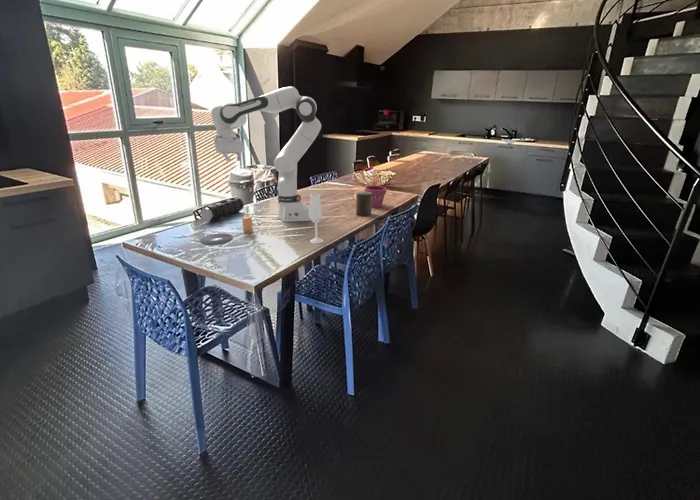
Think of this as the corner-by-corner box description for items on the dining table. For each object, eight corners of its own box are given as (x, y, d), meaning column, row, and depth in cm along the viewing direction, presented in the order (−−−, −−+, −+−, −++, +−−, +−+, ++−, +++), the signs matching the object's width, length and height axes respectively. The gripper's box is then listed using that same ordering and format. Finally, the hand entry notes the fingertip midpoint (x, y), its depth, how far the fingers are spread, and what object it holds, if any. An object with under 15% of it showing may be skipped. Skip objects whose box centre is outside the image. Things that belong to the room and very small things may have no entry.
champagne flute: (307, 242, 191) (305, 195, 182) (313, 238, 197) (311, 192, 188) (319, 244, 189) (318, 196, 180) (325, 239, 195) (324, 193, 186)
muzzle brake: (244, 213, 242) (243, 197, 238) (213, 225, 219) (211, 207, 215) (233, 211, 246) (231, 195, 242) (201, 223, 222) (198, 206, 219)
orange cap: (254, 230, 208) (252, 216, 206) (251, 233, 204) (249, 219, 201) (245, 230, 209) (244, 216, 206) (242, 233, 204) (240, 219, 201)
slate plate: (237, 234, 202) (237, 233, 202) (225, 245, 187) (225, 244, 187) (209, 233, 204) (209, 232, 204) (194, 244, 189) (194, 243, 189)
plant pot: (389, 205, 259) (389, 186, 254) (379, 210, 248) (380, 190, 243) (371, 202, 266) (371, 184, 261) (360, 207, 255) (360, 188, 250)
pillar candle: (363, 217, 232) (364, 193, 227) (352, 213, 239) (353, 190, 234) (374, 214, 238) (375, 191, 233) (364, 211, 245) (364, 188, 240)
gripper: (217, 133, 200) (225, 159, 202) (241, 135, 218) (249, 158, 220) (208, 137, 203) (217, 162, 204) (233, 139, 221) (241, 162, 223)
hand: (234, 160), depth 212 cm, fingers open, 8 cm apart
